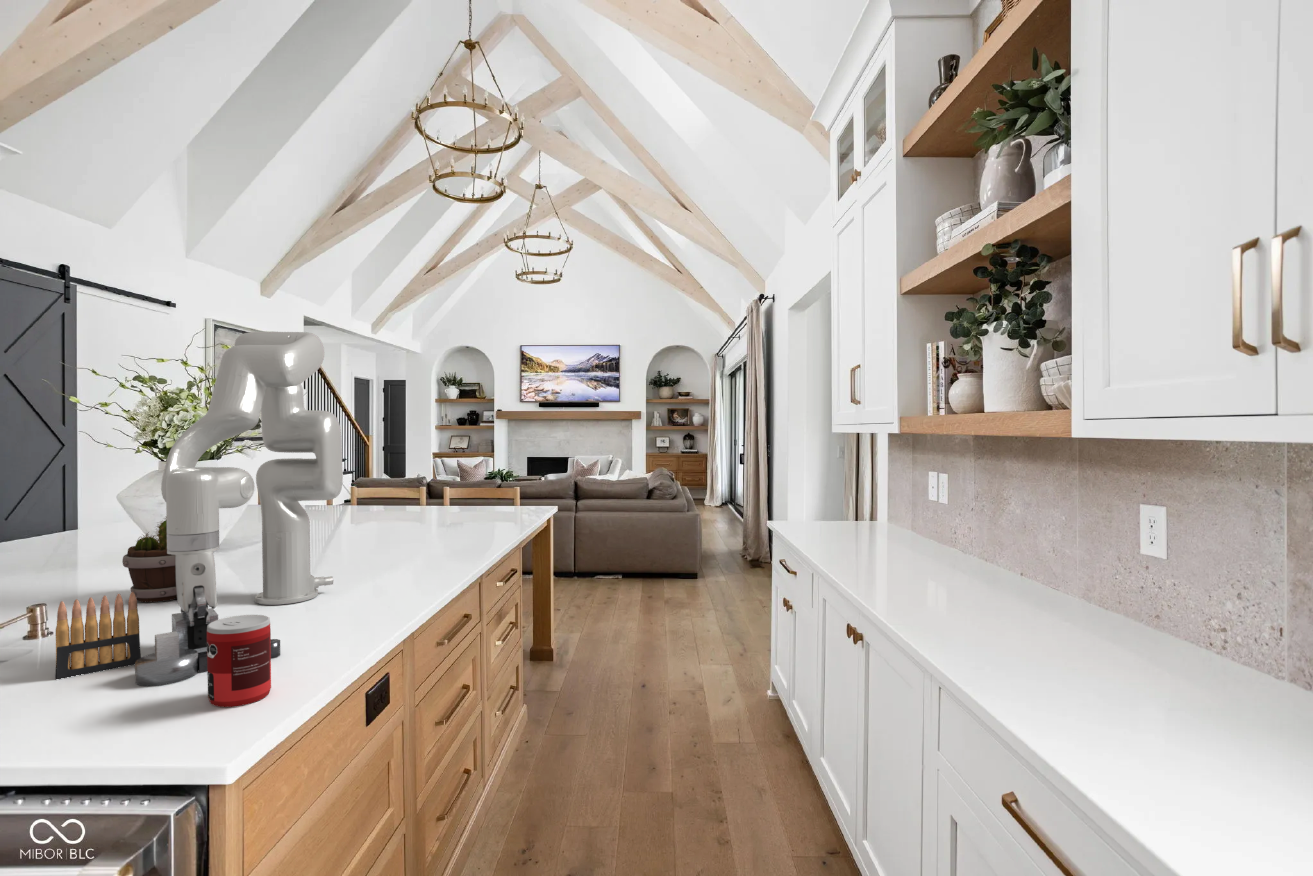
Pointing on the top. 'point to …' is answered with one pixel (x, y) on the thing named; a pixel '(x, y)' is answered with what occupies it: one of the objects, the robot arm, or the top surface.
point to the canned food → (238, 660)
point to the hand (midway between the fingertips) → (195, 641)
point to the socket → (180, 625)
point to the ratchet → (175, 661)
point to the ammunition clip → (96, 638)
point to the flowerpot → (152, 568)
